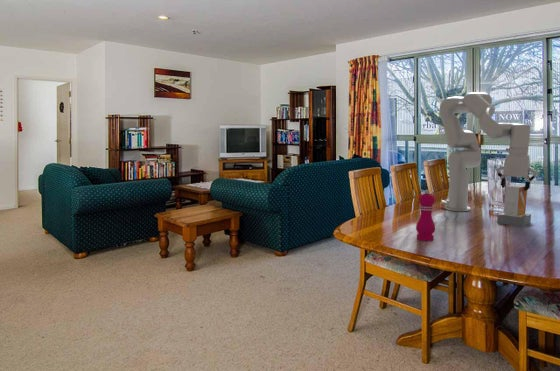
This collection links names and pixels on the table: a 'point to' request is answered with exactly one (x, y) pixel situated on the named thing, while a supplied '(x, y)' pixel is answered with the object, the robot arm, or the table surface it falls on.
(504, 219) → the plinth
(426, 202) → the pepper mill
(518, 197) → the small box
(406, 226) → the table surface
